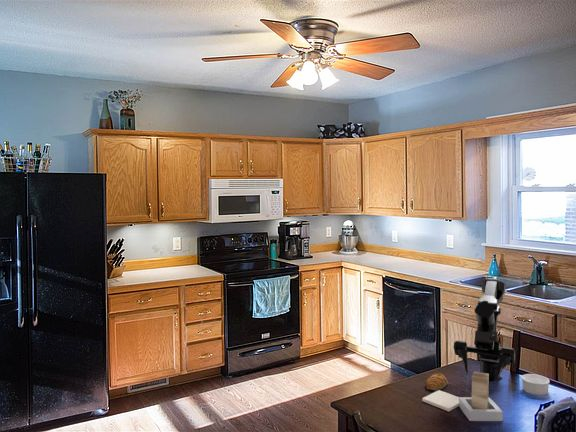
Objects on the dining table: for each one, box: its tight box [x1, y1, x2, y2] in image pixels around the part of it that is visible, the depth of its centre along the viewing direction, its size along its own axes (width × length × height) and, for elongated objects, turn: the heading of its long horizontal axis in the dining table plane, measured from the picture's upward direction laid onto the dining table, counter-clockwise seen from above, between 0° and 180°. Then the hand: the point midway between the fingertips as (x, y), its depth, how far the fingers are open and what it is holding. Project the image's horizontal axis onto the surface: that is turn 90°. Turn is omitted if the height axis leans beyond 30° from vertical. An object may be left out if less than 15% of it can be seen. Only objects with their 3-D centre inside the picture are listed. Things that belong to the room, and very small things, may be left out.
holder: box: [458, 396, 504, 422], centre depth 147 cm, size 10×10×3 cm
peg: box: [471, 371, 490, 409], centre depth 147 cm, size 4×4×12 cm
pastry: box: [425, 373, 449, 392], centre depth 168 cm, size 9×7×4 cm
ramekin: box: [520, 373, 550, 396], centre depth 164 cm, size 9×9×4 cm
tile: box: [421, 389, 460, 412], centre depth 156 cm, size 10×10×1 cm
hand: (481, 375), depth 150 cm, fingers open, 9 cm apart
